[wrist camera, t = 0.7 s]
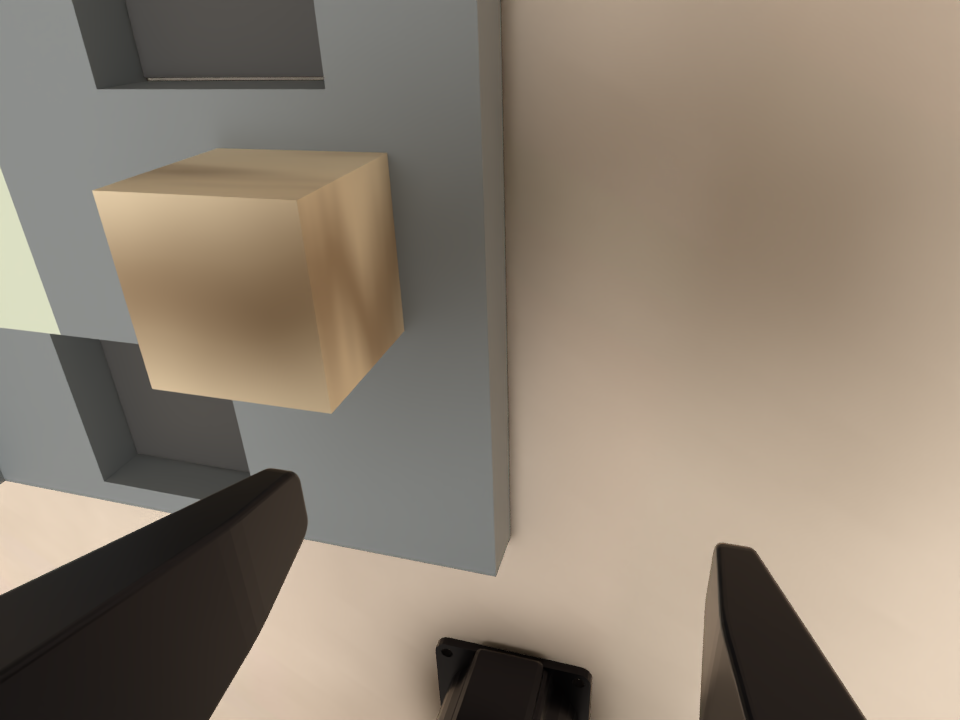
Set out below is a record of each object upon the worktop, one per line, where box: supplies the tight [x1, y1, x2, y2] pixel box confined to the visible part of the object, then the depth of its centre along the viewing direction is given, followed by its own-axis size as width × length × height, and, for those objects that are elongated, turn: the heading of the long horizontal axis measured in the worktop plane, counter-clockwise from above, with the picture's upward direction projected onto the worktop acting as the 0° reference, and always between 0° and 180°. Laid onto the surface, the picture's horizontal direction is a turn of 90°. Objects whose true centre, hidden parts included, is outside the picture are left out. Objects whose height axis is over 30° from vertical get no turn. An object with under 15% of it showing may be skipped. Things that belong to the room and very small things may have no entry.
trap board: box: [0, 0, 510, 577], centre depth 21 cm, size 22×23×4 cm
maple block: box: [92, 148, 404, 414], centre depth 17 cm, size 5×5×4 cm
